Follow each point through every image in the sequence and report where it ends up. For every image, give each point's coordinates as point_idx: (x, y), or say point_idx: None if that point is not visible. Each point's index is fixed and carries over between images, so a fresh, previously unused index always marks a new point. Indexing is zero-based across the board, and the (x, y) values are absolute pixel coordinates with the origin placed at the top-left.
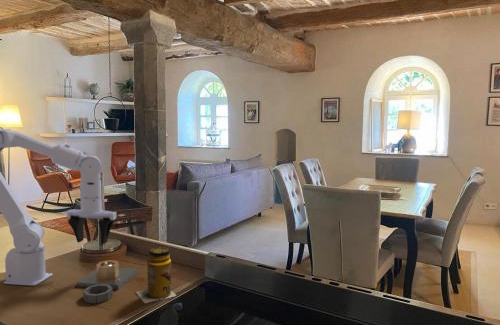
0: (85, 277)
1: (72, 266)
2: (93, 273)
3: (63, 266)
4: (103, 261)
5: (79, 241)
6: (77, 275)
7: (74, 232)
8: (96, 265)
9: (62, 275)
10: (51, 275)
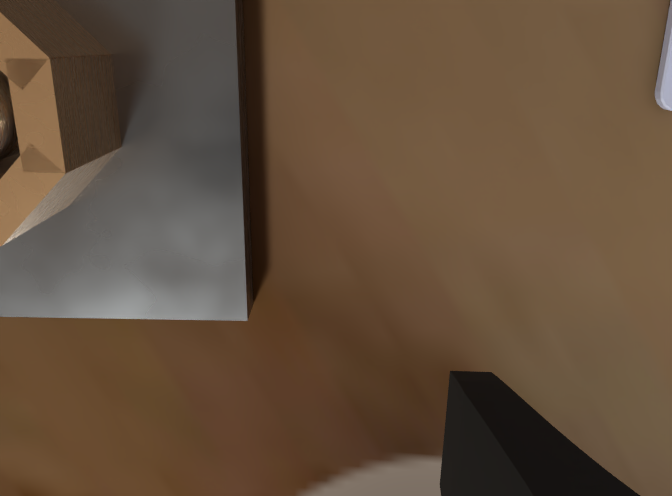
0: (212, 1)
1: (564, 350)
2: (192, 127)
3: (653, 338)
4: (33, 191)
5: (452, 386)
6: (396, 148)
7: (620, 488)
8: (41, 46)
9: (551, 124)
10: (658, 76)
